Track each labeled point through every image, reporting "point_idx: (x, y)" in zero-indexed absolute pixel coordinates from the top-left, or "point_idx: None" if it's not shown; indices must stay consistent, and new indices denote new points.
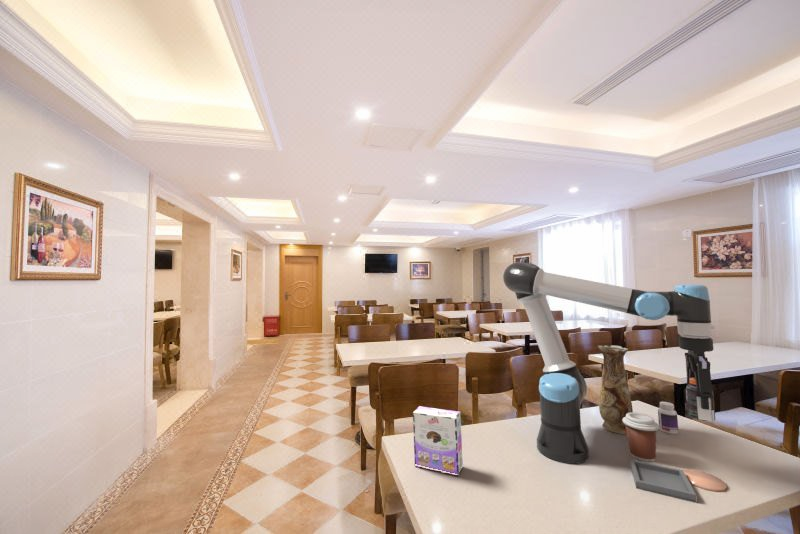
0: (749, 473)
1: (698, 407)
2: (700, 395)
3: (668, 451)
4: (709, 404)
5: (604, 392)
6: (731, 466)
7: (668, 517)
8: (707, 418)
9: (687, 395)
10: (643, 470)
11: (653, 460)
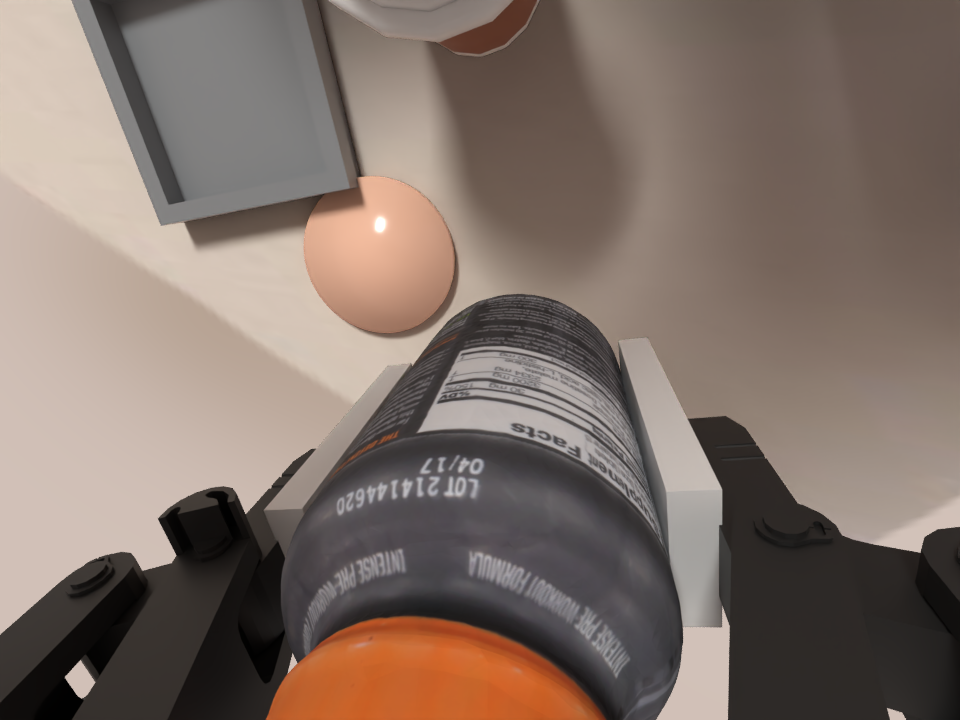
0: None
1: (342, 424)
2: (88, 562)
3: (641, 122)
4: None
5: None
6: None
7: (9, 127)
8: None
9: (429, 392)
10: (266, 4)
11: (444, 46)
